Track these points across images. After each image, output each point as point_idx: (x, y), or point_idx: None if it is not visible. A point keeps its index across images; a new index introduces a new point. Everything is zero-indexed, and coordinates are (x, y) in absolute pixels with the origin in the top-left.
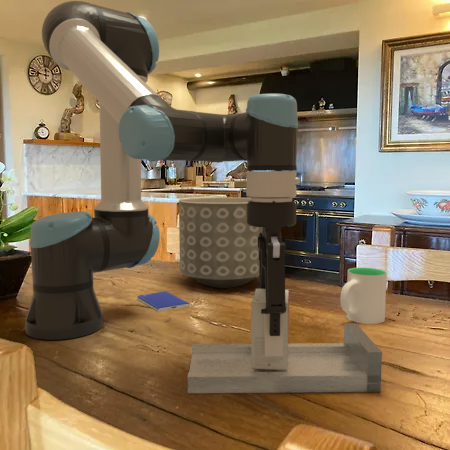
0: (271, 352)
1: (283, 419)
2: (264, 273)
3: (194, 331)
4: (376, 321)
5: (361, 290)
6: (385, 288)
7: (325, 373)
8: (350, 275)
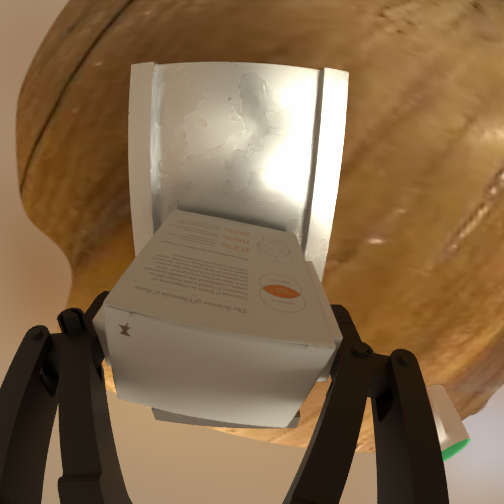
0: None
1: (70, 238)
2: (313, 440)
3: (478, 119)
4: None
5: None
6: None
7: None
8: (452, 440)
